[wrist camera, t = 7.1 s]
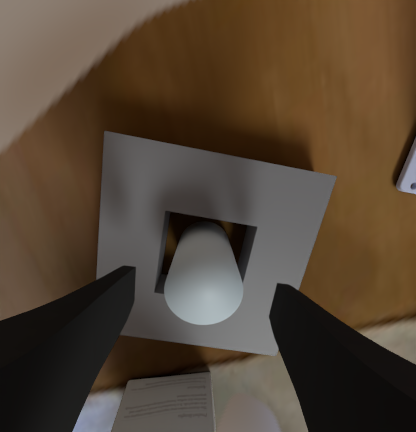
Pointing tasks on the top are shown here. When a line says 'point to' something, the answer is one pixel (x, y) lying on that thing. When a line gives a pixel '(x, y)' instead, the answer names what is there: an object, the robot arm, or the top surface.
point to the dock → (214, 209)
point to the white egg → (203, 276)
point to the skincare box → (167, 405)
